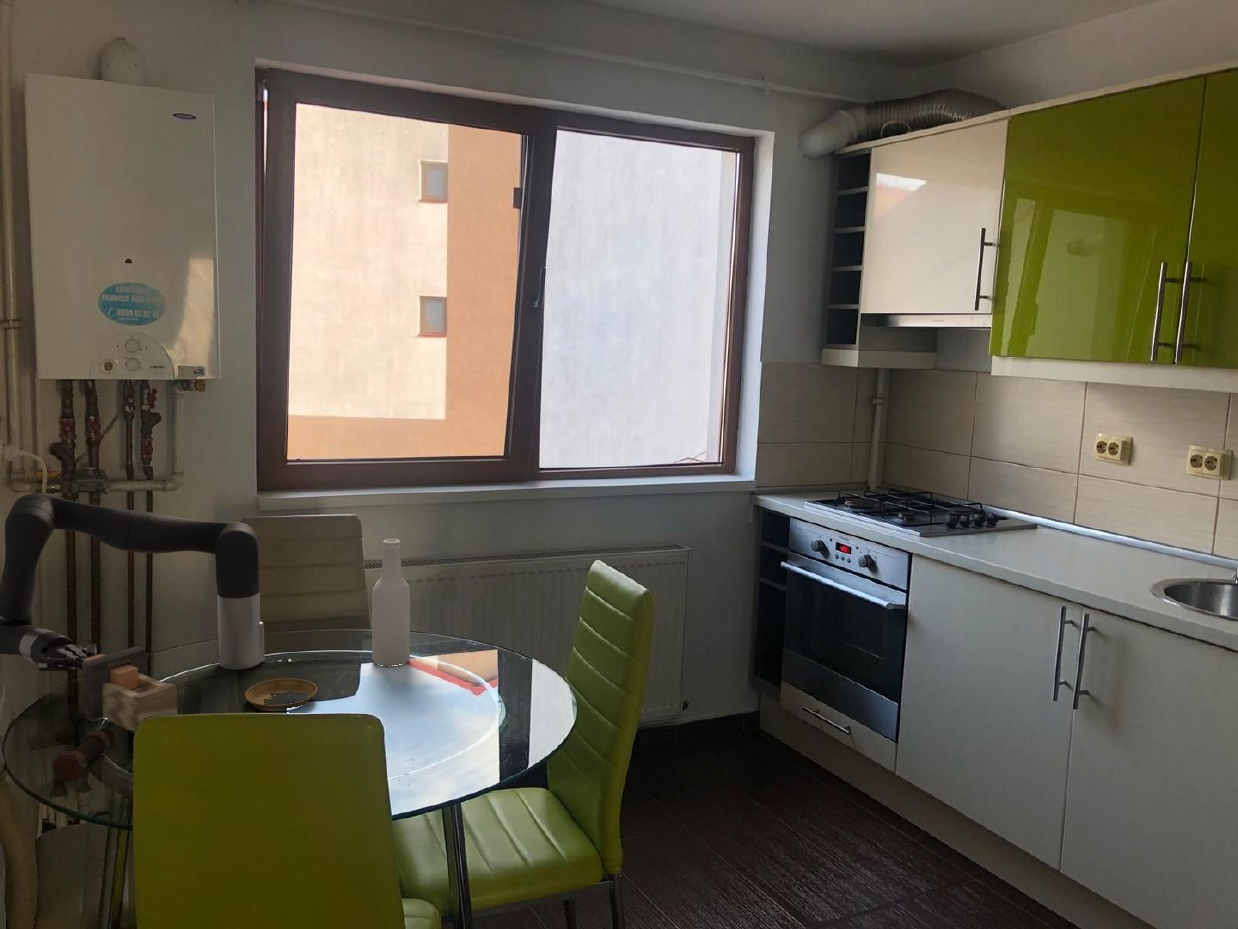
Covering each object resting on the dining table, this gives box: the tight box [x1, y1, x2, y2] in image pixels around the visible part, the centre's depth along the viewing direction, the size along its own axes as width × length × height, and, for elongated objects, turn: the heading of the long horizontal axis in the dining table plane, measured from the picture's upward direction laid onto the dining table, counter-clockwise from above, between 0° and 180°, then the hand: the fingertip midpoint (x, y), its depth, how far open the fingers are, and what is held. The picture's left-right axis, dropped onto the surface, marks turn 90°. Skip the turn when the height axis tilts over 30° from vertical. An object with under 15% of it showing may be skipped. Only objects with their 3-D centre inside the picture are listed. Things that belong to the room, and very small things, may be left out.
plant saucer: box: [244, 678, 318, 713], centre depth 216 cm, size 15×15×3 cm
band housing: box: [82, 645, 178, 734], centre depth 204 cm, size 16×12×12 cm
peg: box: [83, 653, 139, 690], centre depth 208 cm, size 13×4×4 cm, turn 58°
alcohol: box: [371, 538, 411, 666], centre depth 239 cm, size 9×9×30 cm
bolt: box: [51, 727, 116, 782], centre depth 187 cm, size 6×5×15 cm
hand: (91, 666), depth 211 cm, fingers closed
